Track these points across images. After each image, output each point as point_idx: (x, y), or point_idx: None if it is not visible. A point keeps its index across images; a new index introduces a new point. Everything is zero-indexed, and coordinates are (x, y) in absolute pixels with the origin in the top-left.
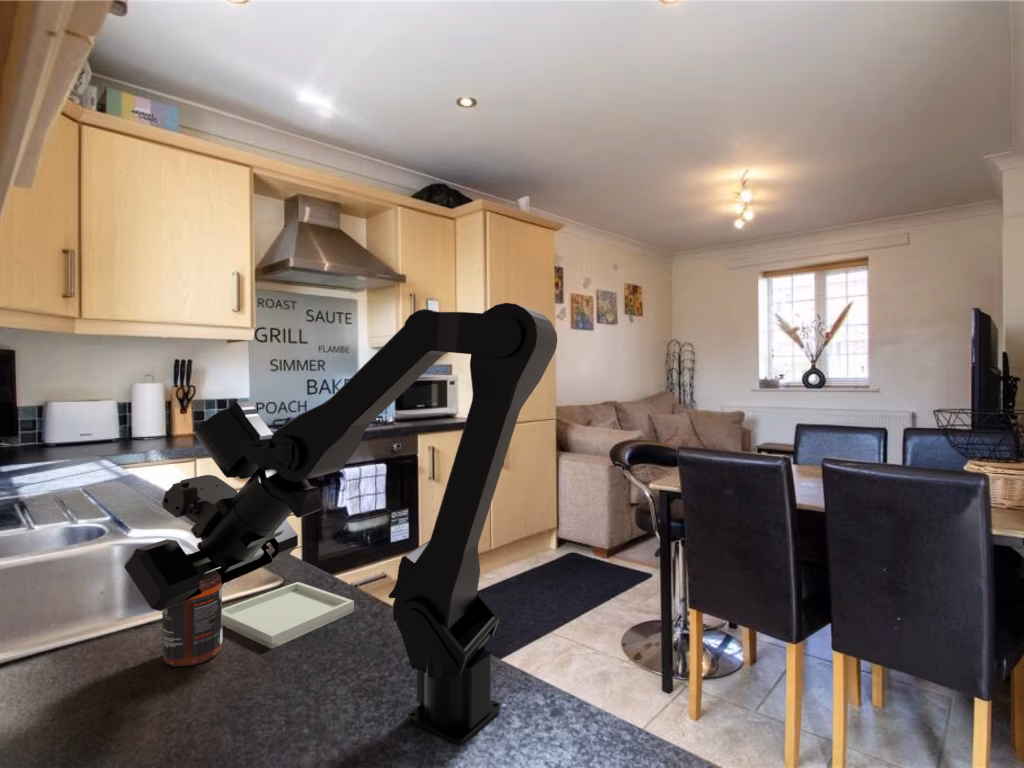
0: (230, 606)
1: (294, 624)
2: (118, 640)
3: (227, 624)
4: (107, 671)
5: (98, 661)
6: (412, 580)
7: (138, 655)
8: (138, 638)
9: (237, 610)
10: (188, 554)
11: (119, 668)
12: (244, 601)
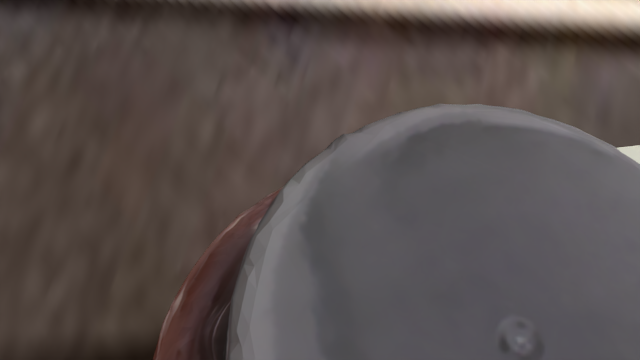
0: None
1: None
2: (160, 71)
3: None
4: (22, 309)
5: (39, 191)
6: None
7: (162, 253)
8: (217, 105)
9: None
10: (501, 136)
11: (64, 319)
12: (630, 153)
